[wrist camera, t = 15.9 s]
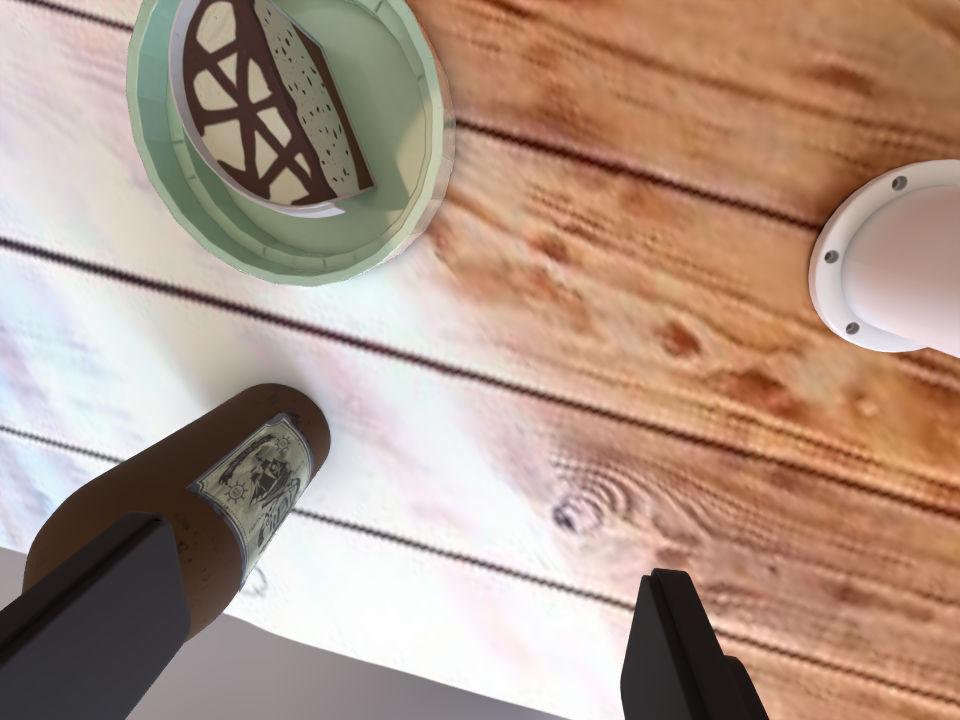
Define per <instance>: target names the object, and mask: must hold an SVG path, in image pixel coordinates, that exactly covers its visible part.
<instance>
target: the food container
mask: <svg viewBox="0 0 960 720" xmlns="http://www.w3.org/2000/svg"><path fill="white" fill-rule="evenodd" d="M168 66H169V78H170V85H171V92H172V96H173V100H174V103H175V107H176V110H177V113H178V116H179V118H180V121H181V123H182V125H183V128H184V130H185V132H186V134H187V136H188V138H189V139H190V141H191V143H192V145H193V146H194V148H195V149H196V151H197V152H198V153H199V155H200V156H201V157H202V159H203V160H204V162H205V163H206V164H207V165H208V166H209V167H210V168H211V169H212V170H213V171H214V172H215V173H216V174H217V175H218V176H219V178H221V180H222V181H223V182H225V183H226V184H227V185H228V186H230V187H231V188H232V189H233V190H235V191H236V192H237V193H239V194H240V195H242V196H244V197H245V198H247V199H249V200H251V201H252V202H254V203H257V204H259V205H262V206H264V207H267V208H269V209H272V210H274V211H277V212H280V213H282V214H287V215H291V216H296V217H305V218H321V217H329V216H334V215H338V214H341V213H344V212H346V209H344V208H342V207H339V206H337V205H335V202H338V201H341V200H344V199H347V198H350V197H353V196H356V195H359V194H362V193H365V192H368V191H371V190H375V189H378V186H377V184H376V181H375V179H374V176H373V174H372V171H371V168H370V166H369V163H368V161H367V158H366V156H365V153H364V151H363V148H362V145H361V143H360V140H359V138H358V135H357V133H356V130H355V128H354V125H353V123H352V120H351V117H350V115H349V112H348V110H347V107H346V105H345V102H344V100H343V97H342V95H341V92H340V89H339V87H338V84H337V82H336V79H335V77H334V74H333V72H332V69H331V66H330V64H329V61H328V59H327V56H326V54H325V51H324V49H323V46H322V45H321V44H320V43H319V42H318V41H317V40H316V39H315V38H314V37H312V36H311V35H310V34H309V33H308V32H307V31H306V30H305V29H304V28H303V27H302V26H301V25H300V24H298V23H297V22H296V21H295V20H294V19H293V18H292V17H291V16H290V15H289V14H288V13H287V12H285V11H284V10H283V9H282V8H281V7H280V6H279V5H278V4H277V3H276V2H275V1H274V0H181V2H180V4H179V7H178V9H177V11H176V14H175V18H174V21H173V25H172V29H171V34H170V42H169V50H168Z"/></svg>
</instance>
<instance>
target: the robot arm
mask: <svg viewBox="0 0 960 720" xmlns="http://www.w3.org/2000/svg"><path fill="white" fill-rule="evenodd" d="M892 182H893V184H892ZM826 253H827V256H826V258H825V255H826ZM808 279H809V292H810V296H811V299H812V302H813V305H814V308H815V310H816V312H817V313H818V315H819V317H820V318H821V320H822V321H823V322H824V323H825V324H826V325H827V326H828V327H829V328H830V330H831V331H832V332H834V333H835V334H837V335H839V336H840V337H842V338H843V339H845V340H847V341H849V342H851V343H854V344H856V345H858V346H860V347H864V348H868V349H871V350H875V351H884V352H904V351H914V350H918V349H922V348H926V347H930V348H933V349H936V350H939V351H941V352H944V353H947V354H950V355H952V356H955V357H958V358H960V160H955V159H951V160H932V161H925V162H918V163H911V164H908V165H905V166H902V167H899V168H896V169H893V170H890V171H888V172H886V173H884V174H882V175H880V176H878V177H876V178H874V179H872V180H871V181H869V182H868V183H866V184H865V185H864V186H862V187H861V188H859V189H858V190H857V191H855V192H854V193H853V194H852V195H851V196H850V197H849V198H848V199H846V200H845V201H844V202H843V203H842V204H841V205H840V206H839V207H838V208H837V210H836V211H835V212H834V214H833V215H832V216H831V218H830V219H829V220H828V221H827V223H826V224H825V226H824V228H823V230H822V232H821V234H820V235H819V237H818V239H817V241H816V244H815V247H814V250H813V253H812V256H811V259H810V267H809V275H808ZM190 628H191V618H190V613H189V608H188V603H187V598H186V593H185V587H184V582H183V577H182V572H181V567H180V562H179V556H178V551H177V546H176V541H175V536H174V530H173V527H172V524H171V523H169V522H168V521H167V519H166V517H165V516H164V515H163V514H160V513H151V512H142V511H130V512H128V513H126V514H124V515H123V516H121V517H120V518H119V519H118V520H116V521H115V522H114V523H112V524H111V525H110V526H109V527H107V528H106V529H105V530H104V531H102V532H101V533H100V534H98V535H97V536H96V537H95V538H93V539H92V540H91V541H89V542H88V543H87V544H86V545H84V546H83V547H82V548H81V549H79V550H78V551H77V552H75V553H74V554H73V555H72V556H70V557H69V558H68V559H66V560H65V561H64V562H63V563H61V564H60V565H59V566H58V567H56V568H55V569H54V570H52V571H51V572H50V573H49V574H47V575H46V576H45V577H44V578H42V579H41V580H40V581H38V582H37V583H36V584H35V585H33V586H32V587H31V588H29V589H28V590H27V591H26V592H24V593H23V594H22V595H21V596H19V597H18V598H17V599H15V600H14V601H13V602H12V603H10V604H9V605H8V606H6V607H5V608H4V609H3V610H1V611H0V720H125V719H126V718H127V716H128V715H129V714H130V713H131V711H132V710H133V708H134V707H135V706H136V705H137V703H138V702H139V701H140V700H141V698H142V697H143V696H144V694H145V693H146V692H147V690H148V689H149V688H150V687H151V685H152V684H153V683H154V681H155V680H156V679H157V678H158V676H159V675H160V674H161V672H162V671H163V670H164V668H165V667H166V666H167V665H168V663H169V662H170V661H171V659H172V658H173V657H174V655H175V654H176V653H177V652H178V650H179V649H180V648H181V646H182V645H183V644H184V642H185V641H186V639H187V637H188V635H189V632H190ZM620 690H621V700H622V705H623V710H624V716H625V720H769V718H768V715H767V713H766V711H765V709H764V707H763V705H762V703H761V700H760V698H759V696H758V694H757V692H756V690H755V687H754V685H753V683H752V681H751V679H750V677H749V675H748V673H747V671H746V669H745V667H744V666H743V664H742V663H741V662H740V661H739V660H738V659H737V657H733V656H728V655H724V654H723V652H722V650H721V647H720V645H719V643H718V640H717V638H716V636H715V633H714V631H713V629H712V626H711V624H710V622H709V619H708V617H707V615H706V613H705V610H704V608H703V606H702V603H701V601H700V599H699V596H698V594H697V592H696V589H695V587H694V585H693V582H692V580H691V578H690V576H689V574H688V573H687V572H686V571H678V570H669V569H660V568H654V569H653V571H652V573H651V576H648V575H643V577H642V579H641V583H640V588H639V592H638V597H637V602H636V607H635V612H634V616H633V621H632V626H631V631H630V635H629V640H628V645H627V650H626V654H625V659H624V664H623V669H622V674H621V681H620Z"/></svg>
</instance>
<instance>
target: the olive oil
mask: <svg viewBox="0 0 960 720" xmlns="http://www.w3.org/2000/svg"><path fill="white" fill-rule="evenodd" d="M329 449H330V431H329V427H328V424H327V422H326V420H325V418H324V416H323V414H322V413H321V411H320V410H319V408H318V407H317V406H316V405H315V404H314V403H313V402H312V401H311V400H310V399H309V398H308V397H306V396H305V395H303V394H302V393H300V392H298V391H297V390H295V389H292V388H290V387H287V386H283V385H278V384H260V385H256V386H253V387H250V388H248V389H246V390H244V391H242V392H241V393H239V394H237V395H236V396H234V397H233V398H231V399H229V400H228V401H226V402H225V403H223V404H221V405H220V406H218V407H216V408H215V409H213V410H212V411H210V412H208V413H207V414H205V415H203V416H202V417H200V418H198V419H197V420H195V421H193V422H192V423H190V424H188V425H186V426H185V427H183V428H181V429H180V430H178V431H176V432H175V433H173V434H171V435H169V436H168V437H166V438H164V439H163V440H161V441H159V442H157V443H156V444H154V445H152V446H151V447H149V448H147V449H145V450H144V451H142V452H140V453H138V454H137V455H135V456H133V457H131V458H130V459H128V460H126V461H124V462H123V463H121V464H119V465H117V466H116V467H114V468H112V469H110V470H109V471H107V472H105V473H103V474H102V475H100V476H98V477H96V478H95V479H93V480H91V481H90V482H88V483H87V484H85V485H84V486H82V487H81V488H79V489H78V490H77V491H75V492H74V493H73V494H72V495H70V496H69V497H68V498H67V499H66V500H65V501H64V502H63V503H62V504H61V505H60V506H59V507H58V508H57V510H56V511H55V512H54V513H53V514H52V515H51V517H50V518H49V519H48V520H47V521H46V523H45V524H44V525H43V526H42V528H41V529H40V531H39V532H38V534H37V536H36V537H35V539H34V541H33V543H32V545H31V548H30V551H29V554H28V557H27V561H26V566H25V572H24V580H23V589H22V594H23V593H24V592H26V591H27V590H28V589H29V588H31V587H32V586H33V585H35V584H36V583H37V582H38V581H40V580H41V579H42V578H44V577H45V576H46V575H47V574H49V573H50V572H51V571H52V570H54V569H55V568H56V567H58V566H59V565H60V564H61V563H63V562H64V561H65V560H66V559H68V558H69V557H70V556H72V555H73V554H74V553H75V552H77V551H78V550H79V549H81V548H82V547H83V546H84V545H86V544H87V543H88V542H89V541H91V540H92V539H93V538H95V537H96V536H97V535H98V534H100V533H101V532H102V531H104V530H105V529H106V528H107V527H109V526H110V525H111V524H112V523H114V522H115V521H116V520H118V519H119V518H120V517H121V516H123V515H124V514H126V513H128V512H130V511H142V512H151V513H160V514H163V515H164V516H165V517H166V519H167V521H168V522H169V523H171V524H172V527H173V530H174V536H175V541H176V546H177V551H178V556H179V562H180V567H181V572H182V577H183V582H184V587H185V593H186V598H187V603H188V608H189V613H190V618H191V628H190V632H189V635H188V637H187V639H186V641H185V642H187V641H188V640H189V639H191V638H192V637H194V636H195V635H196V634H198V633H199V632H200V631H202V630H203V629H204V628H205V627H207V626H208V625H209V624H210V623H211V622H213V621H214V620H215V619H216V618H217V617H218V616H219V615H220V614H221V613H222V612H223V611H224V610H225V608H226V607H227V606H228V605H229V603H230V602H231V601H232V599H233V598H234V596H235V595H236V594H237V592H238V590H239V592H240V590H241V589H242V587H243V586H244V584H245V582H246V579H247V577H248V575H249V574H250V572H251V571H252V569H253V568H254V566H255V565H256V563H257V562H258V560H259V558H260V557H261V555H262V554H263V552H264V551H265V549H266V548H267V546H268V545H269V543H270V542H271V540H272V538H273V537H274V535H275V534H276V532H277V531H278V529H279V528H280V526H281V525H282V523H283V522H284V520H285V519H286V517H287V516H288V514H289V513H290V511H291V510H292V508H293V507H294V505H295V504H296V502H297V501H298V499H299V498H300V496H301V495H302V493H303V492H304V490H305V489H306V488H307V486H308V485H309V483H310V482H311V480H312V479H313V478H314V476H315V475H316V473H317V472H318V471H319V469H320V468H321V466H322V465H323V463H324V462H325V460H326V458H327V455H328V453H329ZM185 642H184V643H185Z"/></svg>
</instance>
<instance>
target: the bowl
mask: <svg viewBox="0 0 960 720" xmlns="http://www.w3.org/2000/svg"><path fill="white" fill-rule="evenodd" d="M274 1H275V2H276V3H277V4H278V5H279V6H280V7H281V8H282V9H283V10H284V11H285V12H287V13H288V14H289V15H290V16H291V17H292V18H293V19H294V20H295V21H296V22H297V23H298V24H300V25H301V26H302V27H303V28H304V29H305V30H306V31H307V32H308V33H309V34H310V35H311V36H312V37H314V38H315V39H316V40H317V41H318V42H319V43H320V44H321V45H322V46H323V49H324V51H325V54H326V56H327V59H328V61H329V64H330V66H331V69H332V72H333V74H334V77H335V79H336V82H337V84H338V87H339V89H340V92H341V95H342V97H343V100H344V102H345V105H346V107H347V110H348V112H349V115H350V117H351V120H352V123H353V125H354V128H355V130H356V133H357V135H358V138H359V140H360V143H361V145H362V148H363V151H364V153H365V156H366V158H367V161H368V163H369V166H370V168H371V171H372V174H373V176H374V179H375V181H376V184H377V186H378V189H375V190H371V191H368V192H365V193H362V194H359V195H356V196H353V197H350V198H347V199H344V200H341V201H338V202H335V205H337V206H339V207H342V208H344V209H346V212H344V213H341V214H338V215H334V216H329V217H321V218H305V217H296V216H291V215H287V214H282V213H280V212H277V211H274V210H272V209H269V208H267V207H264V206H262V205H259V204H257V203H254V202H252V201H251V200H249V199H247V198H245V197H244V196H242V195H240V194H239V193H237V192H236V191H235V190H233V189H232V188H231V187H230V186H228V185H227V184H226V183H225V182H223V181H222V180H221V178H219V176H218V175H217V174H216V173H215V172H214V171H213V170H212V169H211V168H210V167H209V166H208V165H207V164H206V163H205V162H204V160H203V159H202V157H201V156H200V155H199V153H198V152H197V151H196V149H195V148H194V146H193V145H192V143H191V141H190V139H189V138H188V136H187V134H186V132H185V130H184V128H183V125H182V123H181V121H180V118H179V116H178V113H177V110H176V107H175V103H174V100H173V96H172V92H171V85H170V78H169V66H168V50H169V42H170V34H171V29H172V25H173V21H174V18H175V14H176V11H177V9H178V7H179V4H180V2H181V0H143V2H142V4H141V7H140V11H139V14H138V17H137V20H136V24H135V27H134V30H133V33H132V36H131V40H130V43H129V47H128V62H127V80H126V93H127V94H126V96H127V102H128V108H129V114H130V120H131V126H132V132H133V138H134V139H135V140H134V142H135V144H136V147H137V149H138V152H139V154H140V157H141V159H142V162H143V164H144V167H145V169H146V172H147V174H148V177H149V179H150V182H152V185H153V187H154V188H155V190H156V191H157V193H158V194H159V196H160V197H161V199H162V200H163V202H164V203H165V205H166V206H167V208H168V209H169V211H170V212H171V214H172V215H173V217H174V219H176V221H177V222H178V223H179V224H180V225H181V226H182V227H183V228H184V229H185V230H186V231H187V232H188V233H189V234H190V235H191V236H192V237H193V238H194V239H195V240H196V241H197V242H198V243H199V244H200V245H201V246H202V247H203V248H204V249H206V250H207V251H208V252H210V253H211V254H213V255H214V256H216V257H218V258H219V259H221V260H222V261H224V262H226V263H227V264H229V265H230V266H232V267H233V268H235V269H237V270H238V271H240V272H242V273H245V274H248V275H251V276H254V277H257V278H260V279H263V280H266V281H269V282H272V283H275V284H282V285H295V286H309V287H313V286H320V285H325V284H330V283H335V282H340V281H345V280H349V279H352V278H354V277H356V276H358V275H360V274H363V273H365V272H367V271H369V270H372V269H374V268H375V267H377V266H379V265H381V264H383V263H385V262H387V261H389V260H391V259H392V258H394V257H396V256H398V255H400V254H401V253H402V252H403V251H405V250H406V249H407V248H408V247H409V246H410V245H411V244H412V243H413V242H414V241H415V240H416V239H417V238H418V237H419V236H420V235H421V234H422V233H423V232H424V231H425V230H426V229H427V227H428V225H429V223H430V222H431V220H432V218H433V217H434V215H435V213H436V211H437V210H438V208H439V206H440V205H441V203H442V201H443V198H444V197H445V193H446V190H447V186H448V183H449V179H450V176H451V172H452V168H453V165H454V160H455V130H456V121H455V120H456V118H455V113H454V109H453V104H452V99H451V94H450V89H449V84H448V79H447V76H446V74H445V72H444V70H443V68H442V65H441V63H440V61H439V59H438V57H437V55H436V53H435V50H434V48H433V46H432V44H431V42H430V40H429V38H428V36H427V34H426V33H425V31H424V30H423V28H422V26H421V25H420V23H419V21H418V20H417V18H416V17H415V15H414V13H413V12H412V10H411V8H410V7H409V6H408V5H407V3H406V2H405V1H404V0H274Z"/></svg>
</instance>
